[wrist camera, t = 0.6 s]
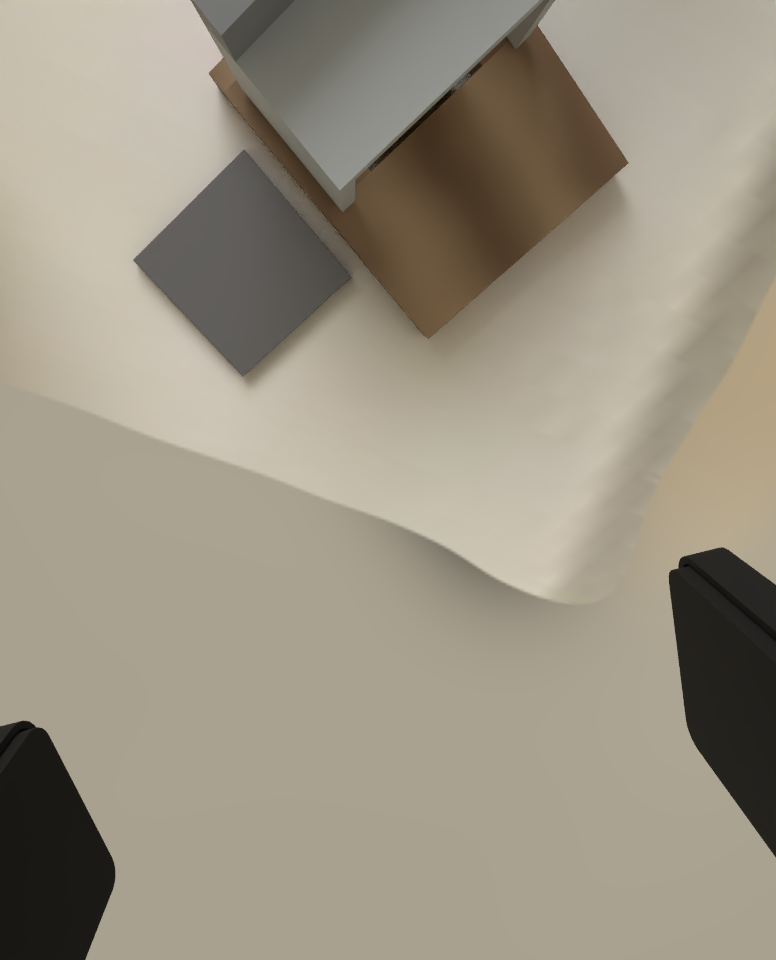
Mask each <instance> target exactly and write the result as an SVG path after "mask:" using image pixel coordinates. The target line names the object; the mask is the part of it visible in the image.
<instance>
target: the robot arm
mask: <svg viewBox="0 0 776 960" xmlns="http://www.w3.org/2000/svg"><path fill="white" fill-rule="evenodd" d="M669 585H670V593H671V601H672V609H673V618H674V625H675V634H676V641H677V650H678V658H679V667H680V675H681V683H682V690H683V699H684V707H685V715H686V722H687V726H688V730H689V732H690V735H691V738H692V740H693V742H694V743H695V745H696V747H697V749H698V750H699V752H700V753H701V754H702V755H703V757H704V759H705V760H706V761H707V763H708V764H709V766H710V767H711V768H712V770H713V771H714V772H715V774H716V775H717V777H718V778H719V779H720V781H721V782H722V784H723V785H724V786H725V788H726V789H727V790H728V792H729V793H730V795H731V796H732V797H733V799H734V800H735V801H736V803H737V804H738V806H739V807H740V808H741V810H742V811H743V813H744V814H745V815H746V816H747V818H748V819H749V821H750V822H751V824H752V825H753V826H754V828H755V829H756V831H757V832H758V833H759V835H760V836H761V837H762V839H763V840H764V841H765V843H766V844H767V846H768V847H769V849H770V850H771V851H772V853H773V854H774V855H775V857H776V585H775V584H774V583H772V582H771V581H770V580H768V579H767V578H766V577H764V576H762V575H761V574H760V573H759V572H757V571H756V570H755V569H753V568H752V567H750V566H749V565H748V564H747V563H745V562H744V561H742V560H741V559H740V558H738V557H737V556H736V555H734V554H733V553H732V552H730V551H729V550H727V549H725V548H716V549H713V550H708V551H704V552H700V553H696V554H692V555H688V556H684V557H682V558H681V559H680V561H679V569H675V570H671V571H670V573H669ZM114 883H115V866H114V862H113V859H112V857H111V855H110V853H109V851H108V849H107V847H106V845H105V843H104V841H103V839H102V837H101V835H100V833H99V831H98V830H97V828H96V826H95V824H94V822H93V820H92V818H91V816H90V814H89V812H88V810H87V809H86V807H85V804H84V802H83V800H82V799H81V797H80V795H79V793H78V791H77V789H76V787H75V785H74V783H73V781H72V779H71V777H70V776H69V773H68V771H67V770H66V768H65V766H64V764H63V762H62V760H61V758H60V756H59V754H58V752H57V750H56V748H55V746H54V744H53V742H52V741H51V739H50V737H49V735H48V733H47V732H46V731H45V730H44V729H42V728H36V727H35V725H34V724H32V723H30V722H29V721H20V722H17V723H12V724H9V725H5V726H0V960H85V959H86V956H87V953H88V951H89V949H90V946H91V943H92V941H93V938H94V936H95V933H96V931H97V928H98V925H99V923H100V921H101V918H102V915H103V913H104V910H105V908H106V905H107V903H108V900H109V898H110V895H111V892H112V890H113V887H114Z"/></svg>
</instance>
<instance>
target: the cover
mask: <svg viewBox="0 0 776 960" xmlns="http://www.w3.org/2000/svg"><path fill="white" fill-rule="evenodd" d="M191 1H192V3H193V5H194V7H195V8H196V10H197V12H198V14H199V15H200V17H201V19H202V21H203V22H204V24H205V26H206V27H207V29H208V31H209V33H210V34H211V36H212V38H213V40H214V41H215V43H216V45H217V47H218V48H219V50H220V52H221V54H222V55H223V57H224V59H225V61H226V62H227V64H228V66H229V68H230V69H231V71H232V73H233V75H234V76H235V78H236V80H237V82H238V83H239V85H240V87H241V89H242V90H243V91H244V92H245V93H246V95H247V96H248V97H249V98H250V100H251V101H252V102H253V103H254V104H255V106H256V107H257V108H258V109H259V111H260V112H261V113H262V114H263V115H264V117H265V118H266V119H267V120H268V122H269V123H270V124H271V125H272V126H273V128H274V129H275V130H276V131H277V133H278V134H279V135H280V136H281V137H282V139H283V140H284V141H285V142H286V144H287V145H288V146H289V147H290V148H291V150H292V151H293V152H294V153H295V155H296V156H297V157H298V158H299V159H300V161H301V162H302V163H303V164H304V166H305V167H306V168H307V169H308V170H309V172H310V173H311V174H312V175H313V177H314V178H315V179H316V180H317V181H318V183H319V184H320V185H321V186H322V188H323V189H324V190H325V191H326V192H327V194H328V195H329V196H330V197H331V199H332V200H333V201H334V202H335V203H336V205H337V206H338V207H339V208H340V210H341V211H342V212H344V211H345V210H346V209H347V208H348V207H349V206H350V205H351V204H352V203H353V202H354V201H355V180H356V179H357V178H358V177H359V176H360V175H361V174H362V173H363V172H364V171H365V170H366V169H367V168H368V167H369V166H370V165H371V164H372V163H373V162H375V161H376V160H377V159H378V158H379V157H380V156H381V155H382V154H383V153H384V152H385V151H386V150H387V149H388V148H389V147H390V146H391V145H392V144H393V143H395V142H396V141H397V140H398V139H399V138H400V137H401V136H402V135H403V134H404V133H405V132H406V131H407V130H408V129H409V128H410V127H411V126H412V125H413V124H415V123H416V122H417V121H418V120H419V119H420V118H421V117H422V116H423V115H424V114H425V113H426V112H427V111H428V110H429V109H430V108H431V107H432V106H433V105H435V104H436V103H437V102H438V101H439V100H440V99H441V98H442V97H443V96H444V95H445V94H446V93H447V92H448V91H449V90H450V89H451V88H452V87H453V86H455V85H456V84H457V83H458V82H459V81H460V80H461V79H462V78H463V77H464V76H465V75H466V74H467V73H468V72H469V71H470V70H471V69H472V68H473V67H475V66H476V65H477V64H478V63H479V62H480V61H481V60H482V59H483V58H484V57H485V56H486V55H487V54H488V53H489V52H490V51H491V50H492V49H493V48H494V47H496V46H497V45H498V44H499V43H500V42H501V41H502V40H503V39H504V38H505V37H506V36H507V38H508V39H509V41H510V42H511V44H512V45H513V47H514V48H515V49H516V48H518V47H519V46H520V45H521V44H522V43H523V42H524V41H525V40H526V39H527V38H528V37H529V36H530V35H531V33H532V32H533V30H534V29H535V28H536V26H537V25H538V23H539V22H540V21H541V19H542V18H543V16H544V15H545V14H546V12H547V11H548V9H549V8H550V7H551V5H552V4H553V2H554V1H555V0H191Z"/></svg>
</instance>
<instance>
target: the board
mask: <svg viewBox="0 0 776 960" xmlns="http://www.w3.org/2000/svg"><path fill="white" fill-rule="evenodd" d="M470 73H471V74H472V76H471V77H470V78H469V79H468V80H467V81H466V82H465V83H464V84H463V85H462V86H461V87H460V88H459V89H458V90H457V91H456V92H454V93H453V94H452V95H451V96H450V97H449V98H448V99H447V100H446V101H445V102H444V103H443V104H442V105H441V106H440V107H439V108H438V109H437V110H435V111H434V112H433V113H432V114H431V115H430V116H429V117H428V118H427V119H426V120H425V121H424V122H423V123H422V124H421V125H420V126H419V127H418V128H416V129H415V130H414V131H413V132H412V133H411V134H410V135H409V136H408V137H407V138H406V139H405V140H404V141H403V142H402V143H401V144H400V145H399V146H398V147H396V148H395V149H394V150H393V151H392V152H391V153H390V154H389V155H388V156H387V157H386V158H385V159H384V160H383V161H382V162H381V163H380V164H379V165H377V166H376V167H375V168H374V169H373V170H372V171H370V170H369V168H367V169H366V170H365V171H364V172H363V173H362V174H361V175H360V176H359V177H358V178H357V179H356V180H355V201H354V202H353V203H352V204H351V205H350V206H349V207H348V208H347V209H346V210H345V211H344V212H342V211H341V210H340V208H339V207H338V206H337V205H336V203H335V202H334V201H333V200H332V199H331V197H330V196H329V195H328V194H327V192H326V191H325V190H324V189H323V188H322V186H321V185H320V184H319V183H318V181H317V180H316V179H315V178H314V177H313V175H312V174H311V173H310V172H309V170H308V169H307V168H306V167H305V166H304V164H303V163H302V162H301V161H300V159H299V158H298V157H297V156H296V155H295V153H294V152H293V151H292V150H291V148H290V147H289V146H288V145H287V144H286V142H285V141H284V140H283V139H282V137H281V136H280V135H279V134H278V133H277V131H276V130H275V129H274V128H273V126H272V125H271V124H270V123H269V122H268V120H267V119H266V118H265V117H264V115H263V114H262V113H261V112H260V111H259V109H258V108H257V107H256V106H255V104H254V103H253V102H252V101H251V100H250V98H249V97H248V96H247V95H246V93H245V92H244V91H243V90H242V89H241V87H240V85H239V83H238V82H237V80H236V78H235V76H234V75H233V73H232V71H231V69H230V68H229V66H228V64H227V62H226V61H225V59H224V58H223V59H222V60H221V61H220V62H219V63H218V64H217V65H216V66H215V67H214V68H213V69H212V70H211V71H210V72H209V75H210V76H211V77H212V79H213V80H214V82H215V83H216V85H217V86H218V87H219V89H220V90H221V91H222V92H223V93H224V95H225V96H226V97H227V98H228V99H229V101H230V102H231V103H232V104H233V105H234V107H235V108H236V109H237V110H238V112H239V113H240V114H241V115H242V116H243V118H244V119H245V120H246V121H247V122H248V124H249V125H250V126H251V127H252V128H253V130H254V131H255V132H256V133H257V134H258V136H259V137H260V138H261V139H262V140H263V142H264V143H265V144H266V145H267V147H268V148H269V149H270V150H271V151H272V153H273V154H274V155H275V156H276V157H277V159H278V160H279V161H280V162H281V163H282V165H283V166H284V167H285V168H286V169H287V171H288V172H289V173H290V174H291V175H292V177H293V178H294V179H295V180H296V182H297V183H298V184H299V185H300V186H301V188H302V189H303V190H304V191H305V192H306V194H307V195H308V196H309V197H310V198H311V200H312V201H313V202H314V203H315V204H316V206H317V207H318V208H319V209H320V210H321V212H322V213H323V214H324V215H325V217H326V218H327V219H328V220H329V221H330V223H331V224H332V225H333V226H334V227H335V229H336V230H337V231H338V232H339V233H340V235H341V236H342V237H343V238H344V239H345V241H346V242H347V243H348V244H349V245H350V247H351V248H352V249H353V250H354V252H355V253H356V254H357V255H358V256H359V258H360V259H361V260H362V261H363V262H364V264H365V265H366V266H367V267H368V268H369V270H370V271H371V272H372V273H373V274H374V276H375V277H376V278H377V279H378V280H379V282H380V283H381V284H382V285H383V286H384V288H385V289H386V290H387V291H388V293H389V294H390V295H391V296H392V297H393V299H394V300H395V301H396V302H397V303H398V305H399V306H400V307H401V308H402V309H403V311H404V312H405V313H406V314H407V315H408V317H409V318H410V319H411V320H412V321H413V323H414V324H415V325H416V326H417V328H418V329H419V330H420V331H421V332H422V334H423V335H424V336H425V337H427V338H428V339H429V338H430V337H431V336H432V335H433V334H434V333H435V332H436V331H438V330H439V329H440V328H441V327H442V326H443V325H444V324H446V323H447V322H448V321H449V320H450V319H451V318H452V317H454V316H455V315H456V314H457V313H458V312H459V311H460V310H462V309H463V308H464V307H465V306H466V305H467V304H468V303H470V302H471V301H472V300H473V299H474V298H475V297H476V296H478V295H479V294H480V293H481V292H482V291H483V290H484V289H486V288H487V287H488V286H489V285H490V284H491V283H492V282H493V281H495V280H496V279H497V278H498V277H499V276H500V275H501V274H503V273H504V272H505V271H506V270H507V269H508V268H509V267H511V266H512V265H513V264H514V263H515V262H516V261H517V260H519V259H520V258H521V257H522V256H523V255H524V254H525V253H527V252H528V251H529V250H530V249H531V248H532V247H533V246H535V245H536V244H537V243H538V242H539V241H540V240H541V239H543V238H544V237H545V236H546V235H547V234H548V233H549V232H550V231H552V230H553V229H554V228H555V227H556V226H557V225H558V224H560V223H561V222H562V221H563V220H564V219H565V218H566V217H568V216H569V215H570V214H571V213H572V212H573V211H574V210H576V209H577V208H578V207H579V206H580V205H581V204H582V203H584V202H585V201H586V200H587V199H588V198H589V197H590V196H592V195H593V194H594V193H595V192H596V191H597V190H598V189H599V188H601V187H602V186H603V185H604V184H605V183H606V182H607V181H609V180H610V179H611V178H612V177H613V176H614V175H615V174H617V173H618V172H619V171H620V170H621V169H622V168H623V167H625V166H626V165H627V164H628V161H627V160H626V158H625V157H624V155H623V154H622V152H621V151H620V149H619V148H618V146H617V145H616V143H615V142H614V140H613V139H612V137H611V136H610V134H609V133H608V131H607V130H606V128H605V127H604V125H603V124H602V122H601V121H600V119H599V118H598V116H597V115H596V113H595V111H594V110H593V108H592V107H591V105H590V104H589V102H588V101H587V99H586V98H585V96H584V95H583V93H582V92H581V90H580V89H579V87H578V86H577V84H576V83H575V81H574V80H573V78H572V77H571V75H570V74H569V72H568V71H567V69H566V68H565V66H564V65H563V63H562V62H561V60H560V59H559V57H558V56H557V54H556V53H555V51H554V50H553V48H552V46H551V45H550V43H549V42H548V40H547V39H546V37H545V36H544V34H543V33H542V31H541V30H540V28H539V27H538V25H537V26H536V28H535V29H534V30H533V32H532V33H531V35H530V36H529V37H528V38H527V39H526V40H525V41H524V42H523V43H522V44H521V45H520V46H519V47H518V48H516V49H515V48H514V47H513V45H512V44H511V42H510V41H509V39H508V38H507V36H506V37H505V38H504V39H503V40H502V41H501V42H500V43H499V44H498V45H497V46H496V47H494V48H493V49H492V50H491V51H490V52H489V53H488V54H487V55H486V56H485V57H484V58H483V59H482V60H481V61H480V62H479V63H478V64H477V65H476V66H475V67H473V68H472V69H471V70H470Z"/></svg>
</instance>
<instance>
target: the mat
mask: <svg viewBox="0 0 776 960" xmlns="http://www.w3.org/2000/svg"><path fill="white" fill-rule="evenodd" d="M133 261H134V262H135V263H136V264H137V265H138V266H139V267H140V268H141V269H142V270H143V271H144V272H145V273H146V274H147V275H148V276H149V277H150V279H151V280H152V281H153V282H154V283H155V284H156V285H157V286H158V287H159V288H160V289H161V290H162V291H163V292H164V293H165V294H166V296H167V297H168V298H169V299H170V300H171V301H172V302H173V303H174V304H175V305H176V306H177V307H178V308H179V309H180V310H181V311H182V312H183V314H184V315H185V316H186V317H187V318H188V319H189V320H190V321H191V322H192V323H193V324H194V325H195V326H196V327H197V328H198V329H199V330H200V332H201V333H202V334H203V335H204V336H205V337H206V338H207V339H208V340H209V341H210V342H211V343H212V344H213V345H214V346H215V347H216V348H217V350H218V351H219V352H220V353H221V354H222V355H223V356H224V357H225V358H226V359H227V360H228V361H229V362H230V363H231V364H232V365H233V366H234V368H235V369H236V370H237V371H238V372H239V373H240V374H241V375H242V376H244V375H245V374H246V373H247V372H248V371H249V370H250V369H252V368H253V367H254V366H255V365H256V364H257V363H258V362H259V361H260V360H261V359H262V358H263V357H265V356H266V355H267V354H268V353H269V352H270V351H271V350H272V349H273V348H274V347H275V346H277V345H278V344H279V343H280V342H281V341H282V340H283V339H284V338H285V337H286V336H287V335H288V334H290V333H291V332H292V331H293V330H294V329H295V328H296V327H297V326H298V325H299V324H300V323H302V322H303V321H304V320H305V319H306V318H307V317H308V316H309V315H310V314H311V313H312V312H313V311H315V310H316V309H317V308H318V307H319V306H320V305H321V304H322V303H323V302H324V301H325V300H327V299H328V298H329V297H330V296H331V295H332V294H333V293H334V292H335V291H336V290H337V289H338V288H340V287H341V286H342V285H343V284H344V283H345V282H346V281H347V280H348V279H349V278H350V277H351V276H350V275H349V274H348V273H347V271H346V270H345V269H344V268H343V267H342V265H341V264H340V263H339V262H338V261H337V259H336V258H335V257H334V256H333V255H332V253H331V252H330V251H329V250H328V249H327V248H326V246H325V245H324V244H323V243H322V242H321V240H320V239H319V238H318V237H317V236H316V234H315V233H314V232H313V231H312V230H311V229H310V227H309V226H308V225H307V224H306V223H305V221H304V220H303V219H302V218H301V217H300V215H299V214H298V213H297V212H296V211H295V210H294V208H293V207H292V206H291V205H290V204H289V202H288V201H287V200H286V199H285V198H284V196H283V195H282V194H281V193H280V192H279V190H278V189H277V188H276V187H275V186H274V185H273V183H272V182H271V181H270V180H269V179H268V177H267V176H266V175H265V174H264V173H263V171H262V170H261V169H260V168H259V167H258V166H257V164H256V163H255V162H254V161H253V160H252V158H251V157H250V156H249V155H248V154H247V152H246V151H245V150H243V151H242V152H241V153H240V154H239V155H238V156H237V157H236V158H235V159H234V160H233V161H232V162H231V163H230V164H229V165H228V166H227V167H226V168H225V169H224V170H223V171H222V172H221V173H220V174H219V175H218V176H217V177H216V178H215V179H214V180H213V181H212V182H211V183H210V184H209V185H208V186H207V187H206V188H205V189H204V190H203V191H202V192H201V193H200V194H199V195H198V196H197V197H196V198H195V199H194V200H193V201H192V202H191V203H190V204H189V205H188V206H187V207H186V208H185V209H184V210H183V211H182V212H181V213H180V214H179V215H178V216H177V217H176V218H175V219H174V220H173V221H172V222H171V223H170V224H169V225H168V226H167V227H166V228H165V229H164V230H163V231H162V232H161V233H160V234H159V235H158V236H157V237H156V238H155V239H154V240H153V241H152V242H151V243H150V244H149V245H148V246H147V247H146V248H145V249H144V250H143V251H142V252H141V253H140V254H139V255H138V256H137V257H136V258H135V259H134V260H133Z"/></svg>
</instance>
